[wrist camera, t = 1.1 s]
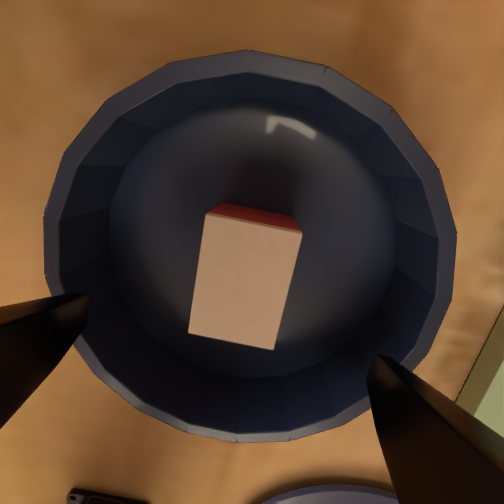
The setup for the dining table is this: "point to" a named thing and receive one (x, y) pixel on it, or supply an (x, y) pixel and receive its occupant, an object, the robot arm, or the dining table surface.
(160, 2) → the dining table surface
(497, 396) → the board
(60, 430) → the dining table surface
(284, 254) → the meat
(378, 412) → the robot arm
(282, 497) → the lid
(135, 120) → the pot
